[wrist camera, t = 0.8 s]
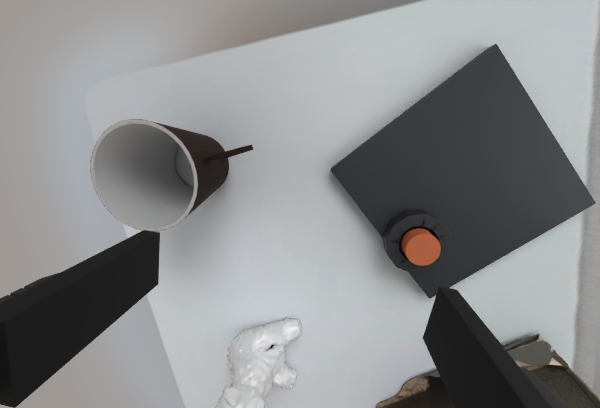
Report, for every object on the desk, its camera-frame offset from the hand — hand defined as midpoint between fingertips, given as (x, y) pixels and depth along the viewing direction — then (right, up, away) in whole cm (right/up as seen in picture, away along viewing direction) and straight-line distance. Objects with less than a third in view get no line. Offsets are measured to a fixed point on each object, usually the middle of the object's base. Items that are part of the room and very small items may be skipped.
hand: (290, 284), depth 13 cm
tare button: (+12, 0, +15) cm, 19 cm away
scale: (+16, +6, +16) cm, 23 cm away
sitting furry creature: (-4, -14, +23) cm, 28 cm away
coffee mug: (-9, +8, +18) cm, 22 cm away
